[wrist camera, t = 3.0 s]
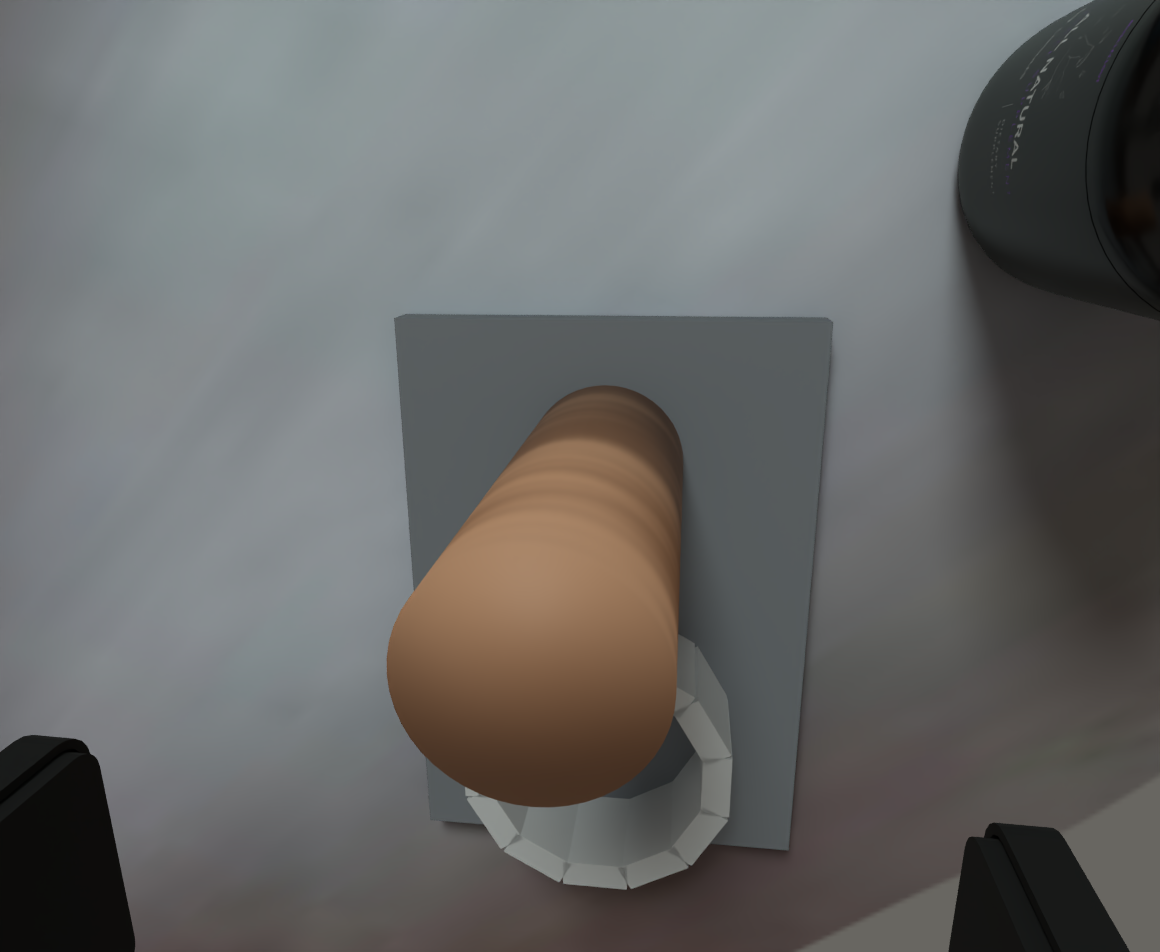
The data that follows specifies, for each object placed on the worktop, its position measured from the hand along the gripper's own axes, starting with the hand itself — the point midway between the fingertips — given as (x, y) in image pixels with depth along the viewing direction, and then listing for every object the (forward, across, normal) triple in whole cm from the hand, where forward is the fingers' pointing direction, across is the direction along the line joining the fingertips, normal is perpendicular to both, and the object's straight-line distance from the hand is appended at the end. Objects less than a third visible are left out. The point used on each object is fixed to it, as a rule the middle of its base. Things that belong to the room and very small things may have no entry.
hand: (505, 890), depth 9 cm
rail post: (+16, +1, 0) cm, 16 cm away
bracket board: (+17, +1, +4) cm, 17 cm away
